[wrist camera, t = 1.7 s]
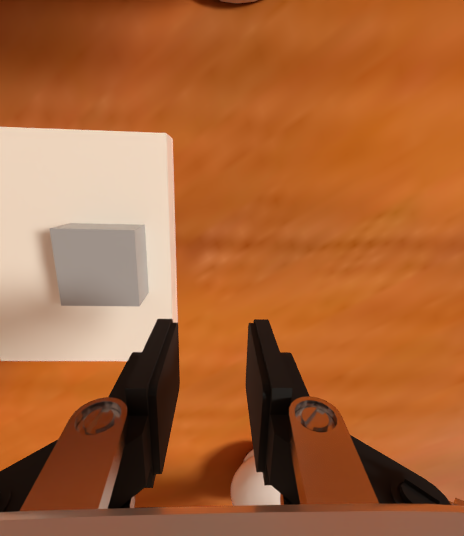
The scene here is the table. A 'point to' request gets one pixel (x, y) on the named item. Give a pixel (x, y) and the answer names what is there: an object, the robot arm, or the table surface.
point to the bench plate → (81, 211)
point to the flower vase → (252, 486)
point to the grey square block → (100, 264)
